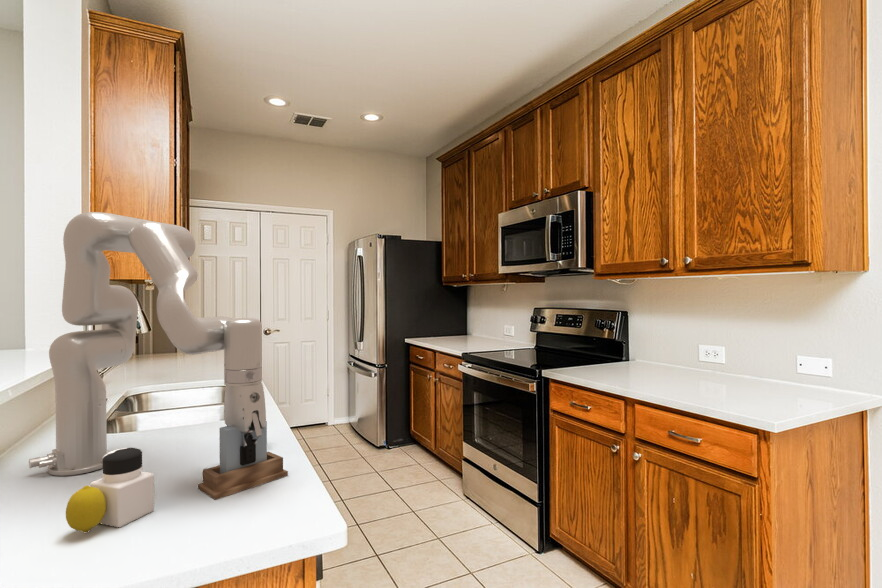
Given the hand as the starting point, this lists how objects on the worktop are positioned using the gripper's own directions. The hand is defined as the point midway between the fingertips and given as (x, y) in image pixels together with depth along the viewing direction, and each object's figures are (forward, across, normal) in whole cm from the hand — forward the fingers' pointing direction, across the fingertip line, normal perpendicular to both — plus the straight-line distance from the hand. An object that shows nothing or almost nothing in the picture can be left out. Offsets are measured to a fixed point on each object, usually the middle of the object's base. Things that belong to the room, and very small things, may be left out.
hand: (243, 460), depth 103 cm
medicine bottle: (+5, +2, +22) cm, 23 cm away
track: (+5, 0, 0) cm, 5 cm away
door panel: (+2, 0, 0) cm, 2 cm away
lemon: (+5, 0, +28) cm, 28 cm away
